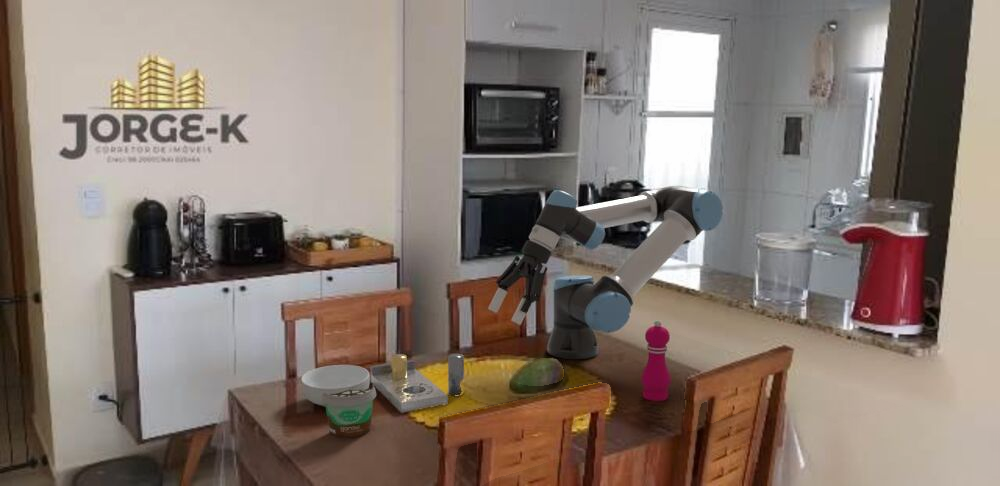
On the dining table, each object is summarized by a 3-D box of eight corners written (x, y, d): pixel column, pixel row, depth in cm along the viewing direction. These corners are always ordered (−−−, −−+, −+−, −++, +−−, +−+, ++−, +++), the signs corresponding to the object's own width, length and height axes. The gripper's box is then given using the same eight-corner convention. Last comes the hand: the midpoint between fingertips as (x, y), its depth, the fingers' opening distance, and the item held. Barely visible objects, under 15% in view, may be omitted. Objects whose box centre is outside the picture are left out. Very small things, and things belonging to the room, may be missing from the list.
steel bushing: (460, 389, 207) (459, 352, 205) (466, 394, 203) (466, 357, 202) (446, 392, 205) (445, 355, 203) (452, 397, 202) (451, 359, 200)
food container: (328, 444, 174) (326, 400, 172) (322, 433, 179) (321, 391, 178) (383, 435, 179) (382, 392, 177) (376, 425, 184) (375, 383, 183)
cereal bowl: (298, 395, 203) (297, 368, 202) (363, 387, 209) (362, 361, 208) (306, 419, 188) (305, 390, 187) (376, 410, 193) (375, 382, 192)
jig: (413, 375, 218) (412, 347, 216) (447, 404, 197) (447, 373, 195) (370, 382, 213) (369, 353, 211) (401, 412, 191) (400, 381, 190)
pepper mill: (651, 389, 207) (654, 315, 203) (675, 396, 202) (678, 320, 198) (635, 396, 202) (637, 320, 198) (659, 404, 197) (661, 326, 193)
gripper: (507, 232, 221) (472, 300, 219) (553, 246, 199) (514, 322, 197) (528, 244, 224) (493, 311, 223) (575, 259, 202) (537, 333, 201)
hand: (503, 316), depth 210 cm, fingers open, 13 cm apart
